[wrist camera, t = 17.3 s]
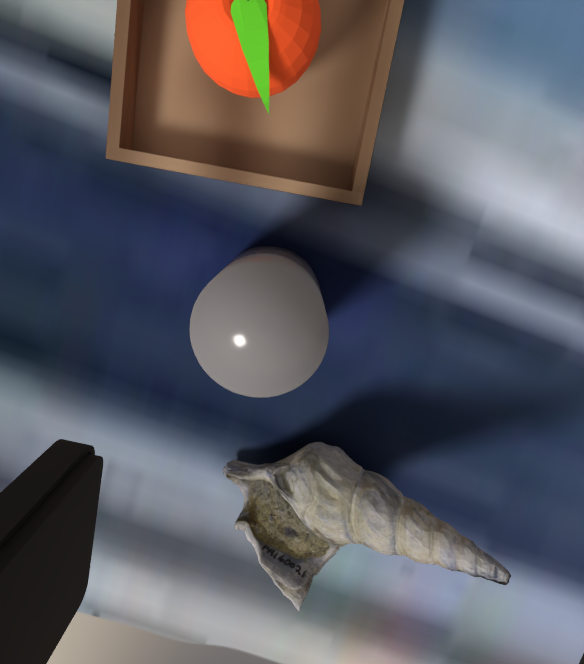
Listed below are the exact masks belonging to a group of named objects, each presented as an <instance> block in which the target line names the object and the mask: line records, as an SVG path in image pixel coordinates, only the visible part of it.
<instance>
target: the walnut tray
mask: <svg viewBox="0 0 584 664" xmlns="http://www.w3.org/2000/svg"><path fill="white" fill-rule="evenodd" d="M186 1H187V0H117V13H116V26H115V40H114V54H113V67H112V81H111V94H110V108H109V122H108V135H107V149H106V159H111V160H116V161H121V162H126V163H132V164H137V165H142V166H148V167H153V168H159V169H164V170H169V171H175V172H180V173H186V174H191V175H196V176H202V177H207V178H213V179H218V180H223V181H229V182H234V183H240V184H245V185H251V186H256V187H261V188H267V189H272V190H278V191H283V192H288V193H294V194H299V195H305V196H310V197H315V198H321V199H326V200H332V201H337V202H342V203H348V204H353V205H360V206H362V201H363V196H364V191H365V186H366V182H367V177H368V172H369V167H370V162H371V158H372V153H373V148H374V143H375V138H376V134H377V129H378V124H379V119H380V114H381V110H382V105H383V100H384V95H385V90H386V86H387V81H388V76H389V71H390V67H391V62H392V57H393V52H394V47H395V43H396V38H397V33H398V28H399V23H400V19H401V14H402V9H403V4H404V0H318V1H319V5H320V9H321V33H320V38H319V43H318V48H317V51H316V53H315V55H314V57H313V59H312V61H311V63H310V66H309V67H308V68H307V70H306V71H305V72H304V73H303V75H302V76H301V77H300V78H299V79H298V81H297V82H296V83H294V84H293V85H292V86H290V87H289V88H287V89H286V90H285V91H283V92H281V93H278V94H275V95H272V96H269V114H268V112H267V110H266V108H265V105H264V103H263V101H262V99H261V98H249V97H245V96H241V95H236V94H234V93H232V92H230V91H228V90H226V89H225V88H223V87H221V86H219V85H218V84H216V83H215V82H214V81H213V80H212V79H211V78H210V77H209V76H208V75H207V74H206V73H205V72H204V70H203V69H202V67H201V66H200V64H199V62H198V61H197V59H196V58H195V56H194V53H193V50H192V47H191V44H190V41H189V38H188V34H187V28H186V17H185V8H186Z"/></svg>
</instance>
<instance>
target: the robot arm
mask: <svg viewBox="0 0 584 664" xmlns="http://www.w3.org/2000/svg"><path fill="white" fill-rule="evenodd" d="M102 469H103V458H102V457H101V456H96V455H95V450H94V447H93V446H91V445H86V444H82V443H77V442H72V441H68V440H63V439H59V440H58V441H56V442H55V443H54V444H53V445H52V446H51V447H49V448H48V449H47V450H46V451H45V452H44V453H43V454H42V455H41V456H40V457H39V458H38V459H37V460H35V461H34V462H33V463H32V464H31V465H30V466H29V467H28V468H27V469H26V470H25V471H24V472H22V473H21V474H20V475H19V476H18V477H17V478H16V479H15V480H14V481H13V482H12V483H11V484H10V485H8V486H7V487H6V488H5V489H4V490H3V491H2V492H1V493H0V664H46V663H47V662H48V660H49V658H50V656H51V655H52V653H53V651H54V650H55V648H56V646H57V644H58V643H59V641H60V639H61V637H62V636H63V634H64V632H65V631H66V629H67V627H68V625H69V623H70V622H71V620H72V618H73V617H74V615H75V613H76V612H77V610H78V608H79V606H80V604H81V602H82V600H83V598H84V595H85V592H86V588H87V584H88V578H89V570H90V563H91V555H92V547H93V539H94V531H95V524H96V516H97V508H98V500H99V493H100V485H101V477H102ZM579 664H584V654H583V656H582V658H581V660H580V663H579Z"/></svg>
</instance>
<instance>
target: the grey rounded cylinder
mask: <svg viewBox="0 0 584 664" xmlns="http://www.w3.org/2000/svg"><path fill="white" fill-rule="evenodd" d="M328 338H329V325H328V318H327V314H326V310H325V306H324V302H323V298H322V294H321V290H320V287H319V283H318V280H317V277H316V275H315V273H314V271H313V270H312V268H311V267H310V266H309V264H308V263H307V262H306V261H305V260H304V259H303V258H302V257H300V256H299V255H298V254H296V253H294V252H292V251H290V250H288V249H285V248H282V247H278V246H259V247H255V248H251V249H249V250H247V251H244V252H243V253H241V254H239V255H238V256H237V257H236V258H234V259H233V260H232V261H231V262H230V263H229V264H228V265H227V266H226V267H225V268H224V269H223V270H222V271H221V272H220V273H219V274H218V275H217V276H215V277H214V278H213V279H212V280H211V281H210V282H209V283H208V285H207V286H206V287H205V288H204V289H203V290H202V292H201V293H200V295H199V296H198V298H197V300H196V302H195V305H194V307H193V310H192V314H191V319H190V339H191V344H192V348H193V350H194V353H195V356H196V358H197V360H198V362H199V363H200V365H201V366H202V368H203V369H204V371H205V372H206V373H207V374H208V375H209V376H210V377H211V378H212V379H213V380H214V381H216V382H217V383H218V384H220V385H221V386H223V387H224V388H226V389H228V390H230V391H232V392H235V393H238V394H240V395H245V396H249V397H271V396H277V395H281V394H284V393H286V392H289V391H291V390H293V389H295V388H297V387H298V386H300V385H301V384H303V383H304V382H305V381H306V380H308V379H309V378H310V377H311V376H312V375H313V373H314V372H315V371H316V370H317V368H318V367H319V365H320V363H321V362H322V359H323V357H324V355H325V352H326V349H327V345H328Z"/></svg>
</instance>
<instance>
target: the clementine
mask: <svg viewBox="0 0 584 664" xmlns="http://www.w3.org/2000/svg"><path fill="white" fill-rule="evenodd" d="M185 17H186V28H187V34H188V38H189V41H190V44H191V47H192V50H193V53H194V56H195V58H196V59H197V61H198V62H199V64H200V66H201V67H202V69H203V70H204V72H205V73H206V74H207V75H208V76H209V77H210V78H211V79H212V80H213V81H214V82H215V83H216V84H218V85H219V86H221V87H223V88H225V89H226V90H228V91H230V92H232V93H234V94H236V95H241V96H245V97H249V98H261V99H262V101H263V103H264V105H265V108H266V110H267V112H268V114H269V96H272V95H275V94H278V93H281V92H283V91H285V90H286V89H287V88H289V87H290V86H292V85H293V84H294V83H296V82H297V81H298V79H299V78H300V77H301V76H302V75H303V73H304V72H305V71H306V70H307V68H308V67H309V66H310V63H311V61H312V59H313V57H314V55H315V53H316V51H317V48H318V43H319V38H320V33H321V9H320V5H319V1H318V0H187V1H186V8H185Z"/></svg>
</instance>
